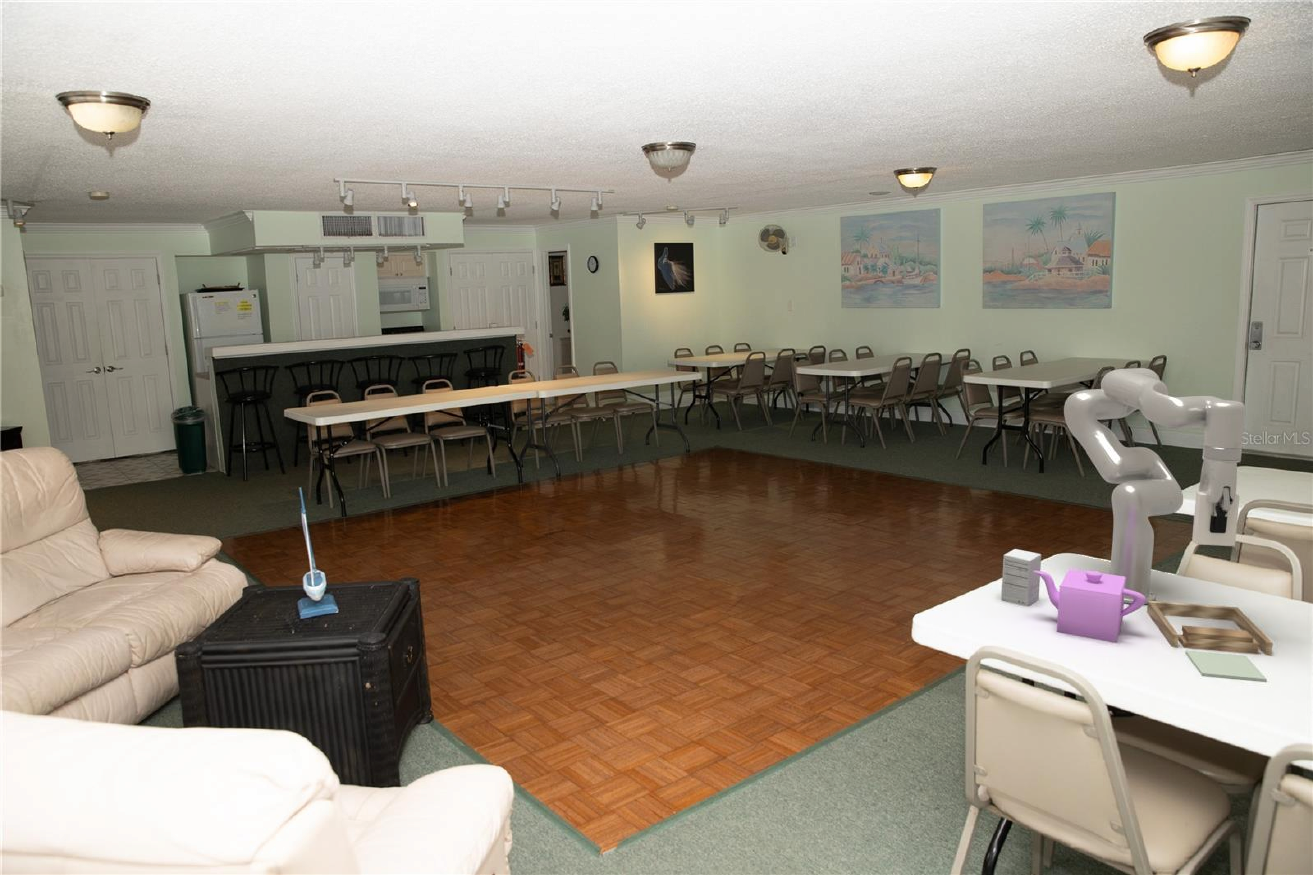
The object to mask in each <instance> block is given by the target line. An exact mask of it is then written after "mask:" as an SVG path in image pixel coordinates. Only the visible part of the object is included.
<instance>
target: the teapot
mask: <svg viewBox="0 0 1313 875" xmlns="http://www.w3.org/2000/svg"><path fill="white" fill-rule="evenodd" d="M1033 572H1035V573H1037V574H1038V575H1039V576H1040V578H1041V579H1042V580H1043V582H1044V584H1045V587H1046V591H1047V595H1048V598H1049V601H1050V603H1051V604H1052V605H1053V607H1055V608H1056V609H1057V621H1056V632H1057V633H1061V634H1066V635H1072V636H1077V637H1083V638H1087V639H1088V638H1089V639H1094V640H1099V641H1104V642H1109V643H1110V642H1111V643H1115V644H1116V643H1117V642H1118V640H1119V639H1118V638H1119V636H1120V632H1121V628H1122V624H1123V620H1124V617H1125V616H1126V615H1127V616H1128V615H1129V614H1132V613H1134V612H1136V611H1137V610H1140V609H1141V608H1142V607H1143V606H1144V605H1145V604H1144V603H1145V602H1146V598H1145V596H1144V595H1142V594H1141V593H1138V592H1136V591H1132V590H1128V589H1125V584H1126V577H1124V576H1117V575H1110V573H1109V574H1108V573H1102V572H1101V571H1097V570H1081V569H1074V568H1068V569H1067V572H1066V573H1065V575H1064V578H1063V579H1062V581H1061V584H1060V586H1059V590H1058V589H1057V588H1056V585H1055V582H1054V579H1053V576H1052V575H1050V574H1049V573H1047V572H1045V571H1042V570H1040V571H1033ZM1125 595H1129V596H1131V597H1133V598H1134V601H1133V602H1132V603H1131V604H1129V605H1128V606H1127V607H1125V608H1124V605H1125V603H1124V597H1125Z"/></svg>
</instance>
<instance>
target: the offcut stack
mask: <svg viewBox="0 0 1313 875" xmlns="http://www.w3.org/2000/svg"><path fill="white" fill-rule="evenodd" d="M1181 631H1182V634H1178V635H1179V637H1178V643H1180V644H1181V646H1182V647H1183V648H1185V649H1187V648H1188V649H1196V650H1197V649H1198V650H1207V651H1208V650H1209V651H1219V652H1232V653H1241V654H1242V653H1244V654H1245V653H1246V654H1252V655H1253V654H1255V655H1259V651H1260V649H1259V648H1258V647H1259V644H1258V642H1257V641H1256V640H1255V639H1254V638H1253V637H1252V636H1251V635H1250V634H1249V633H1248V632H1247V631H1245V630H1241V629H1230V628H1219V627H1207V626H1194V625H1185V624H1183V625H1181Z"/></svg>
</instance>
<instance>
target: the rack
mask: <svg viewBox="0 0 1313 875" xmlns="http://www.w3.org/2000/svg"><path fill="white" fill-rule="evenodd" d="M1146 613H1147V614H1148V616H1149V618H1151V619H1152V621H1153V623H1154V624H1155V625H1156V627H1157V628H1158V629H1159V631H1160V633H1162V635H1163V637H1164V638H1165V639H1166V641H1167V642H1168V644H1169V645H1170V646H1171V647H1172V648H1178V645H1179V641H1178V637H1179V635H1180V634H1178V632H1177V630H1176V629H1175V628H1174V627H1173V626H1172V624H1171V623H1170V622H1169V620H1168V619H1167V618H1166V616H1175V617H1186V618H1187V617H1188V618H1199V619H1210V618H1213V620H1225V621H1233V623H1234V624H1236V626H1238V628H1239V627H1240V628H1239V630H1245V631H1247V632H1248V633H1249V634H1250V635H1251V636H1252V637H1253V638H1254V639H1255V640H1256V641H1257V642H1258V644H1259V647H1258V649H1259V651H1261V652H1262V654H1264V656H1272V653H1273V641H1272V640H1271V639H1270V638H1268V637H1267V636H1266V634H1265V633H1263V631H1262V630H1261V629H1260V628H1259V627H1258V626H1257V625H1255V623H1254V622H1253V621H1252V620H1251V619H1250V618H1249V617H1248V616H1247V615H1246V614H1245V613H1244V612H1243V611H1242V610H1241V609H1240V608H1239V607H1237V606H1235V607H1234V606H1225V605H1224V606H1223V605H1210V604H1194V603H1183V602H1171V601H1170V602H1169V601H1160V600H1159V601H1156V600H1155V601H1148V604H1147V610H1146Z"/></svg>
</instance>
